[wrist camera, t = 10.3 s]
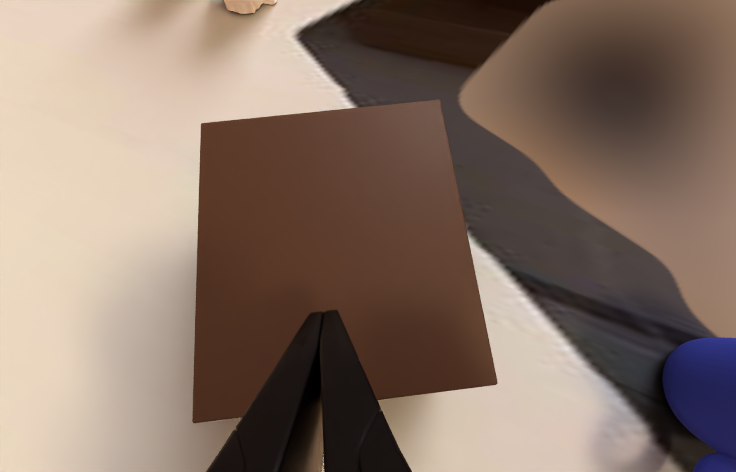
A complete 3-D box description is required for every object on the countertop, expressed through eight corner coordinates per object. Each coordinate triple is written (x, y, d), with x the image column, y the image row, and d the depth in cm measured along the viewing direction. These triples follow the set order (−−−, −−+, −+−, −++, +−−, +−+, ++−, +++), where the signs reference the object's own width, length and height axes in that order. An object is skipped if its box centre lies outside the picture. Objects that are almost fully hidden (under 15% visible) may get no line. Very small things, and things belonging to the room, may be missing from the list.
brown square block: (209, 131, 15) (200, 122, 14) (436, 109, 15) (440, 98, 14) (203, 416, 12) (191, 424, 11) (490, 379, 12) (498, 385, 11)
